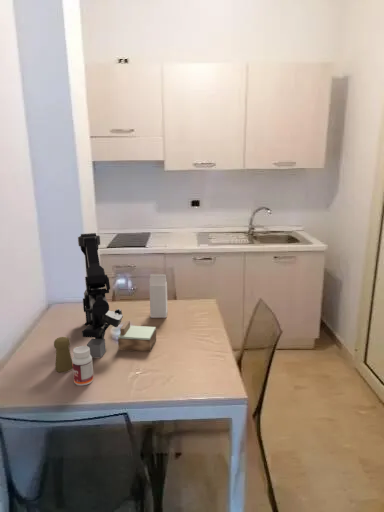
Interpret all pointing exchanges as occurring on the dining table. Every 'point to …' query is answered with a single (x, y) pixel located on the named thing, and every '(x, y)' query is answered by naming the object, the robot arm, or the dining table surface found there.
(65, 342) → the pepper shaker
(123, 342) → the box
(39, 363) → the dining table surface
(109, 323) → the robot arm
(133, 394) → the dining table surface
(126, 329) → the lid
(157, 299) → the milk carton
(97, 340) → the cube
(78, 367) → the pill bottle
